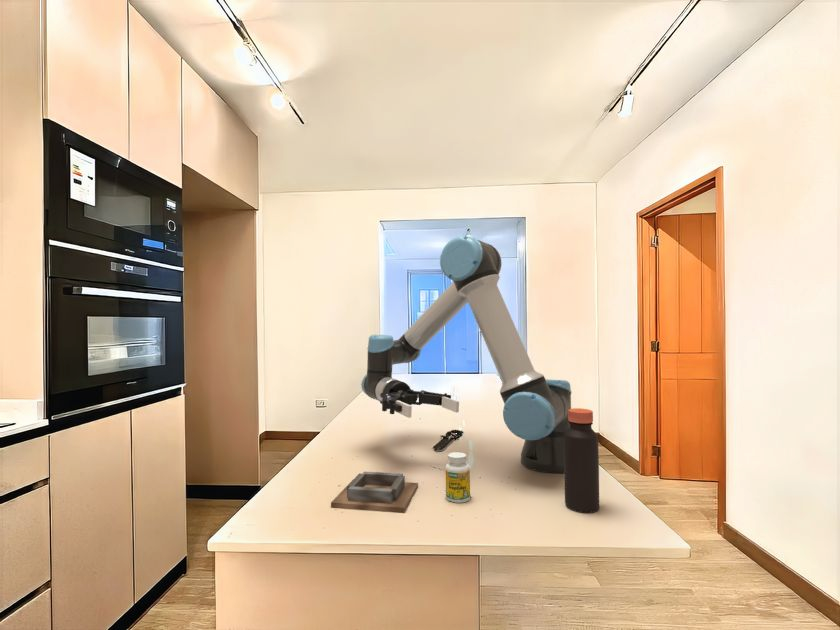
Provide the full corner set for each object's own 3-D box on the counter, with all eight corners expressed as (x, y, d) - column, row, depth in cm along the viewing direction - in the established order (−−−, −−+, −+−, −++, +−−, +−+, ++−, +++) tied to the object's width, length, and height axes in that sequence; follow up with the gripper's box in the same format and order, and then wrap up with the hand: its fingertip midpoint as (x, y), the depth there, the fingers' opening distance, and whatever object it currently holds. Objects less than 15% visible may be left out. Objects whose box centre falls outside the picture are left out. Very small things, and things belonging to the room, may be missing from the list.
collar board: (418, 487, 103) (417, 472, 103) (404, 512, 90) (404, 495, 90) (353, 483, 106) (353, 468, 106) (331, 507, 93) (330, 490, 93)
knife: (440, 455, 130) (440, 450, 130) (420, 452, 132) (420, 447, 132) (468, 434, 152) (468, 430, 152) (451, 432, 155) (451, 428, 155)
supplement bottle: (470, 493, 99) (469, 451, 99) (470, 503, 94) (469, 458, 94) (446, 493, 99) (445, 450, 100) (445, 503, 94) (444, 458, 94)
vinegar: (578, 515, 87) (576, 414, 88) (558, 502, 94) (556, 408, 94) (606, 510, 89) (604, 412, 89) (585, 498, 96) (583, 406, 96)
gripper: (430, 402, 130) (475, 419, 112) (351, 410, 117) (387, 430, 99) (431, 377, 130) (476, 390, 111) (352, 382, 117) (388, 397, 99)
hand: (434, 409), depth 105 cm, fingers open, 13 cm apart
